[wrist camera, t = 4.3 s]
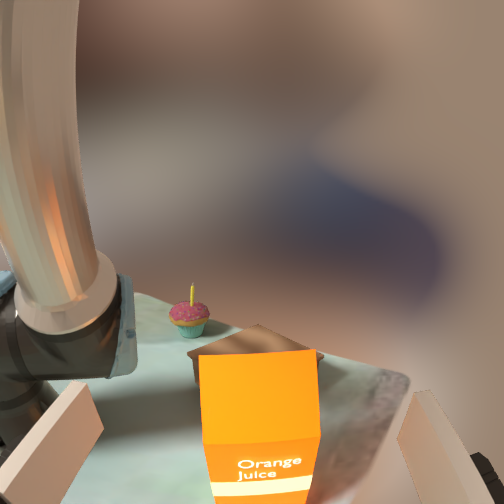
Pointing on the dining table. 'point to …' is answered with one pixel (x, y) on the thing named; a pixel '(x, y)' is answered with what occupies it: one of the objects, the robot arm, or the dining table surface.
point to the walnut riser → (248, 346)
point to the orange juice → (260, 425)
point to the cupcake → (189, 317)
